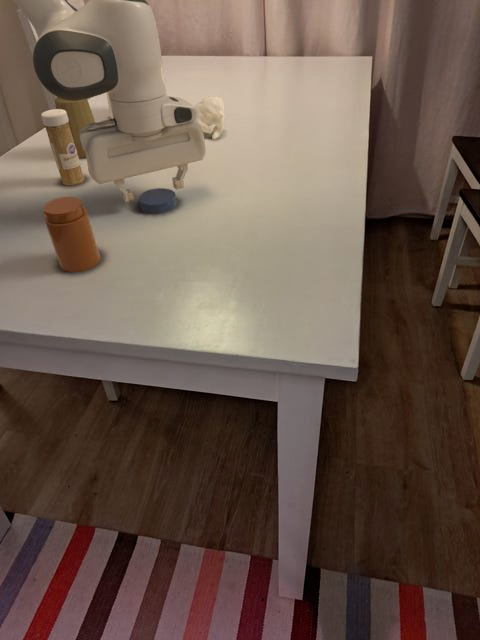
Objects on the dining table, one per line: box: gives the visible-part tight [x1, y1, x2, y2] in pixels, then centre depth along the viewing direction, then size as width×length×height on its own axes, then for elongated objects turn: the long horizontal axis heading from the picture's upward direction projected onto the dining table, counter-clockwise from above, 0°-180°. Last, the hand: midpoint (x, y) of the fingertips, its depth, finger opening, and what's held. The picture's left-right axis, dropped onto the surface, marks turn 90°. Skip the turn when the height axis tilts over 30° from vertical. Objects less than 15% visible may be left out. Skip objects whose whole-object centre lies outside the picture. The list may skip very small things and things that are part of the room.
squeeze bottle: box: [54, 96, 96, 159], centre depth 99 cm, size 8×8×18 cm
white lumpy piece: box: [194, 95, 226, 140], centre depth 108 cm, size 6×8×12 cm
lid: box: [138, 187, 178, 215], centre depth 84 cm, size 7×6×2 cm
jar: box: [42, 196, 101, 273], centre depth 68 cm, size 6×6×10 cm
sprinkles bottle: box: [40, 108, 85, 187], centre depth 90 cm, size 5×5×13 cm
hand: (154, 193), depth 83 cm, fingers open, 8 cm apart
